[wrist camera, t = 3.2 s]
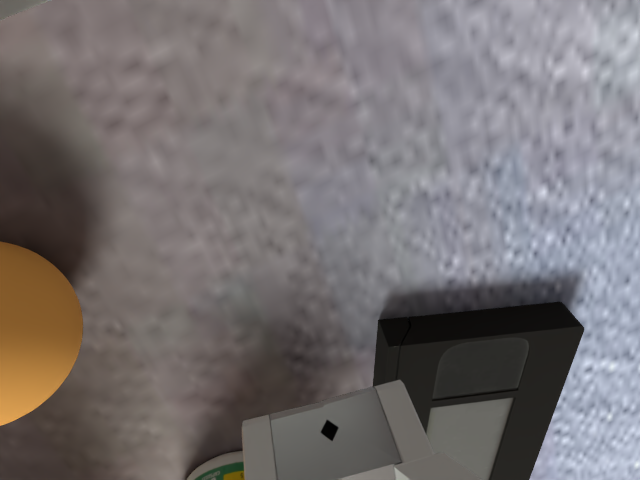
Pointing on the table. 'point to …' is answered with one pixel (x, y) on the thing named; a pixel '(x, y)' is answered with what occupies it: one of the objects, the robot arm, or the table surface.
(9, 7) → the small box
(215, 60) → the table surface
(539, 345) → the vhs tape
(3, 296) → the ball
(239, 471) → the supplement bottle
